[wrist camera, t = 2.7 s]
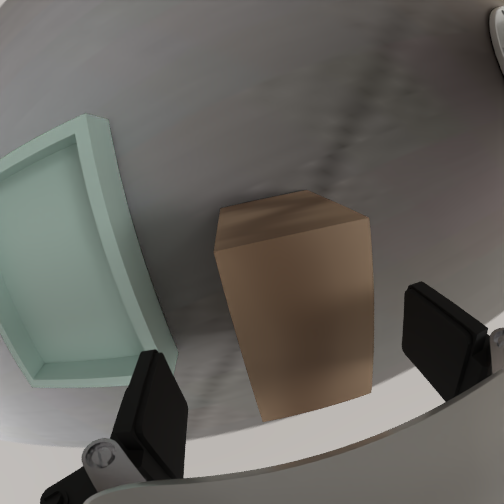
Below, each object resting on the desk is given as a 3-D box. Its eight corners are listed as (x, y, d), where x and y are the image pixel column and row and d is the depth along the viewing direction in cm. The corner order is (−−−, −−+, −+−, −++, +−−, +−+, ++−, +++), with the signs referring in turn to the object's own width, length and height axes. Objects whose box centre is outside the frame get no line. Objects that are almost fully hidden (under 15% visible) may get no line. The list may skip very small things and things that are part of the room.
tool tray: (108, 119, 14) (85, 113, 11) (178, 352, 19) (172, 381, 16) (-22, 187, 14) (-48, 193, 11) (46, 365, 19) (32, 387, 16)
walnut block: (306, 190, 17) (369, 217, 9) (323, 310, 19) (371, 392, 11) (220, 208, 16) (213, 251, 9) (249, 328, 19) (263, 421, 11)
